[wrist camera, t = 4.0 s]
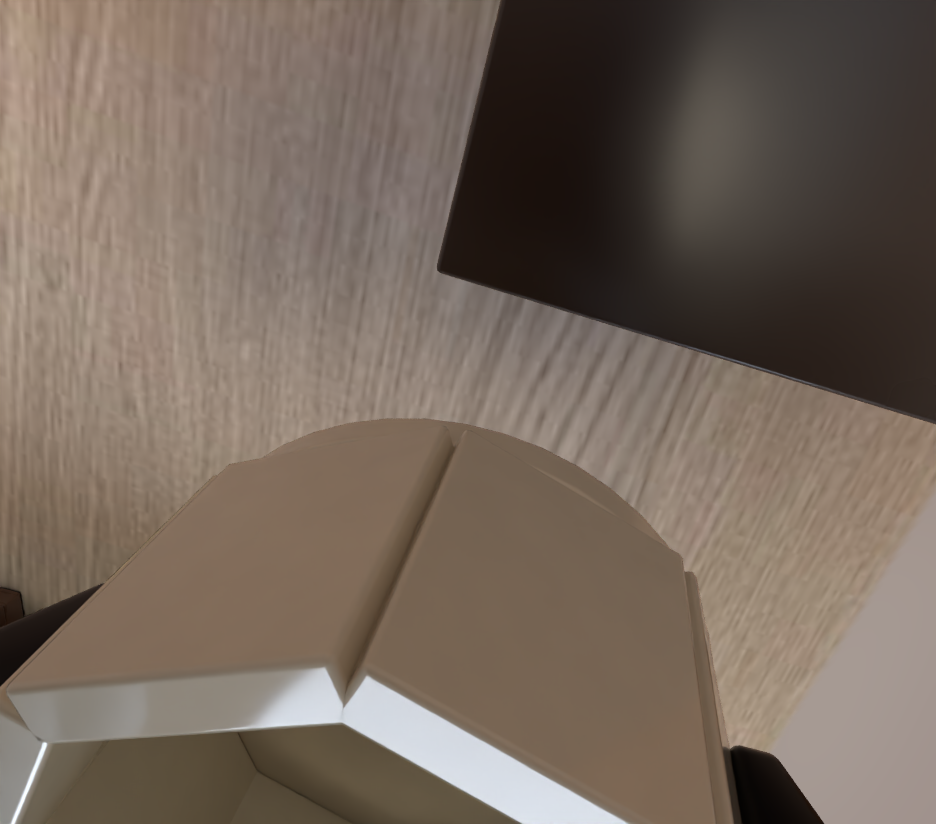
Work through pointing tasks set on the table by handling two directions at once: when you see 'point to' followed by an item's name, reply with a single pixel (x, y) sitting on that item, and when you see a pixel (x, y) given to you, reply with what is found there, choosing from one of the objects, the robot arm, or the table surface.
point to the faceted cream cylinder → (380, 653)
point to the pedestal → (717, 181)
